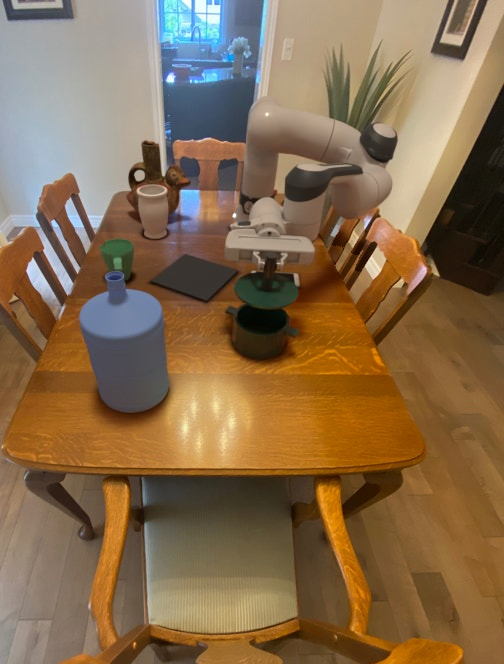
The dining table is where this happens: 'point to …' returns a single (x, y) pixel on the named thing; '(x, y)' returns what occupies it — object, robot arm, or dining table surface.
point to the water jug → (126, 346)
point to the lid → (266, 287)
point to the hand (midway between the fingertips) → (270, 267)
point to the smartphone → (291, 276)
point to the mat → (195, 277)
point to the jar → (153, 210)
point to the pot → (260, 330)
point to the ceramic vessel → (156, 177)
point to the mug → (118, 256)
